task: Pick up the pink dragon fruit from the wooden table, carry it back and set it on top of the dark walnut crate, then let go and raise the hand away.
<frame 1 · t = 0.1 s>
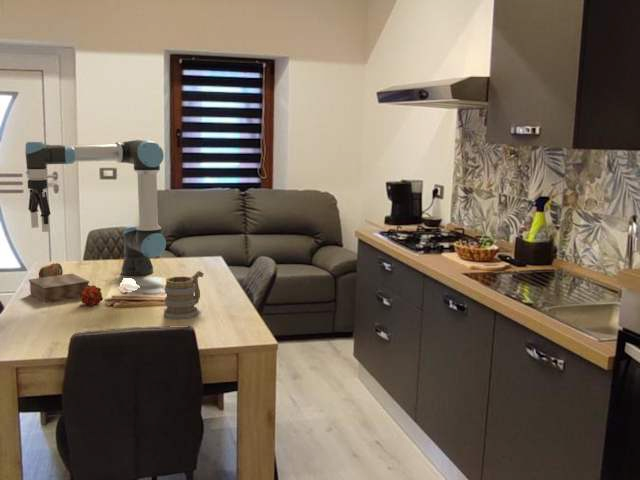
hand: (40, 229, 275), 28 cm above the table, tool pointing down, fingers open, 13 cm apart
dragon fruit: (91, 305, 265), on the table
tin: (51, 283, 300), on the table
crate: (59, 296, 278), on the table
tankard: (187, 312, 257), on the table
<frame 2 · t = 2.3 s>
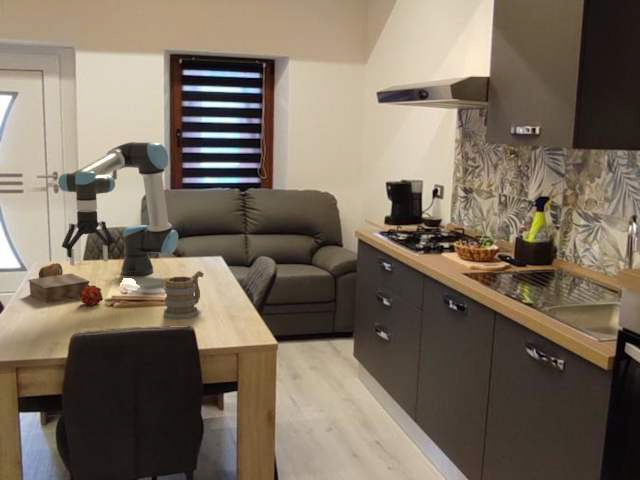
hand: (89, 263, 261), 17 cm above the table, tool pointing down, fingers open, 13 cm apart
nothing on the table moved.
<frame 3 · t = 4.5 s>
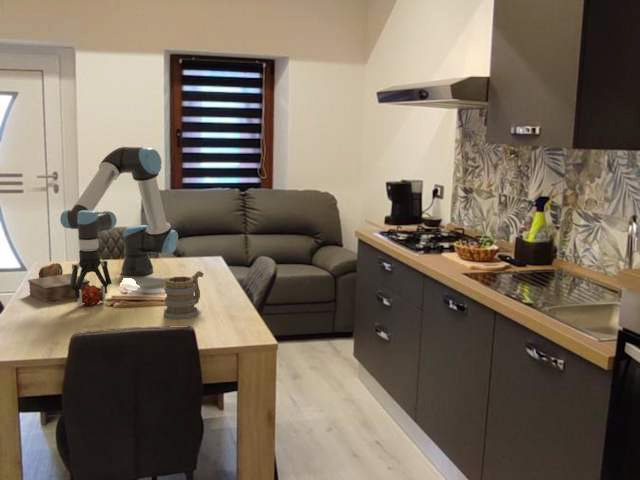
hand: (91, 303, 265), 0 cm above the table, tool pointing down, fingers closed on dragon fruit, 9 cm apart
dragon fruit: (91, 305, 265), on the table, touching gripper
everything else where it was.
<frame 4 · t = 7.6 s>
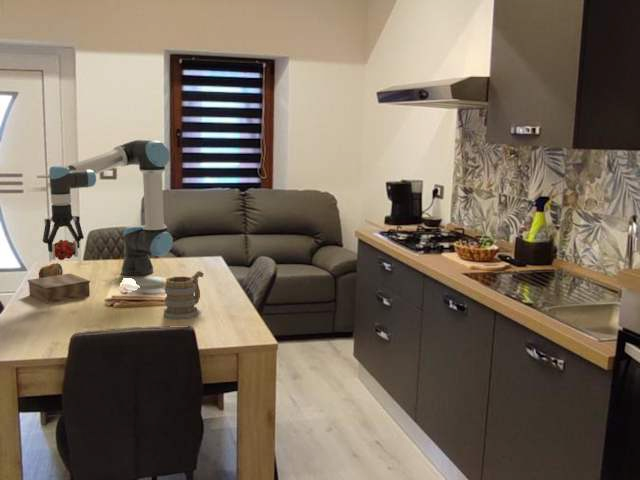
hand: (64, 257, 272), 17 cm above the table, tool pointing down, fingers closed on dragon fruit, 9 cm apart
dragon fruit: (64, 259, 272), point 16 cm above the table, touching gripper
everything else where it was.
when the fingers open (9 cm above the table, at t = 10.5 s): dragon fruit drops 2 cm, resting on crate.
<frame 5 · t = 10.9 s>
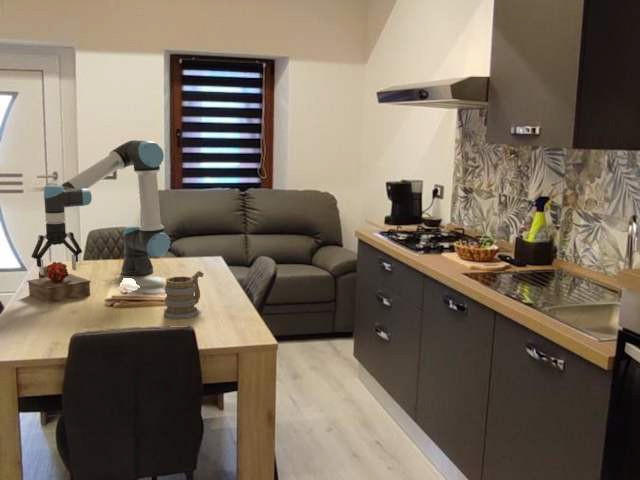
hand: (58, 272, 276), 10 cm above the table, tool pointing down, fingers open, 13 cm apart
dragon fruit: (57, 281, 277), point 6 cm above the table, touching crate
crate: (59, 296, 278), on the table, touching dragon fruit
everything else where it was.
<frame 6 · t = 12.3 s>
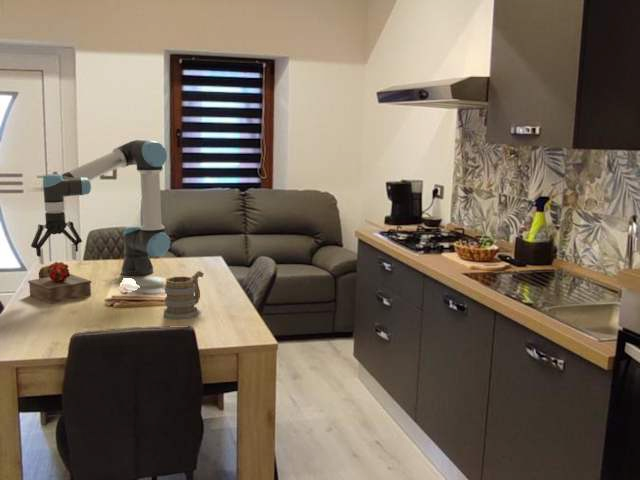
hand: (58, 261, 275), 15 cm above the table, tool pointing down, fingers open, 13 cm apart
nothing on the table moved.
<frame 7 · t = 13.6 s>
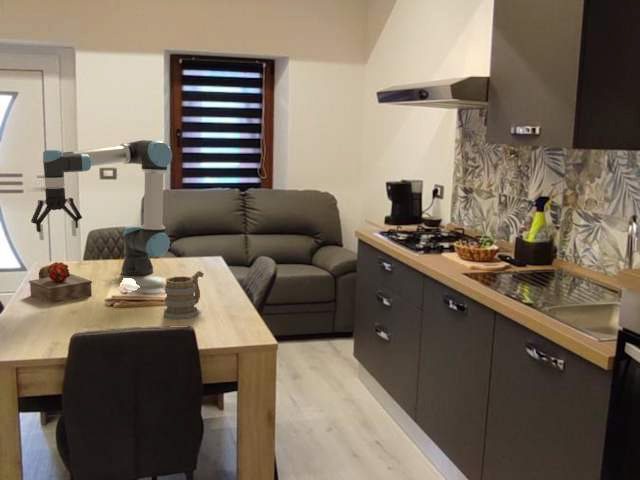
hand: (58, 237, 275), 25 cm above the table, tool pointing down, fingers open, 13 cm apart
dragon fruit: (59, 281, 276), point 6 cm above the table
crate: (61, 296, 278), on the table
everything else where it was.
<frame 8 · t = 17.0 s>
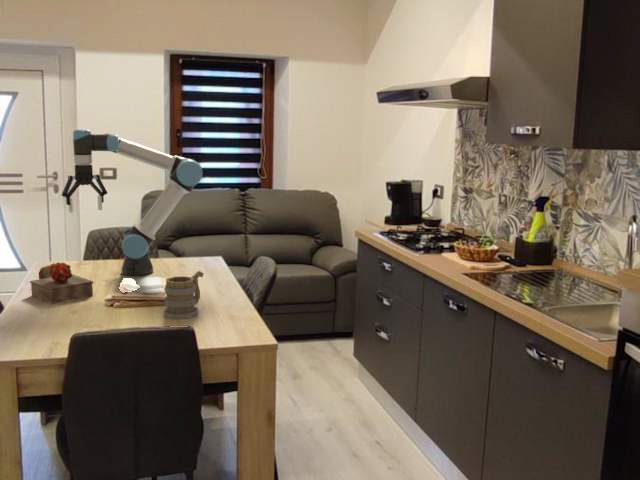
hand: (85, 211, 298), 33 cm above the table, tool pointing down, fingers open, 13 cm apart
dragon fruit: (61, 281, 276), point 6 cm above the table
everything else where it was.
at the end: dragon fruit inside the target area on the crate (0.4 cm from its centre), point 6.8 cm above the crate's base; dragon fruit touching crate; the gripper is holding nothing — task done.
